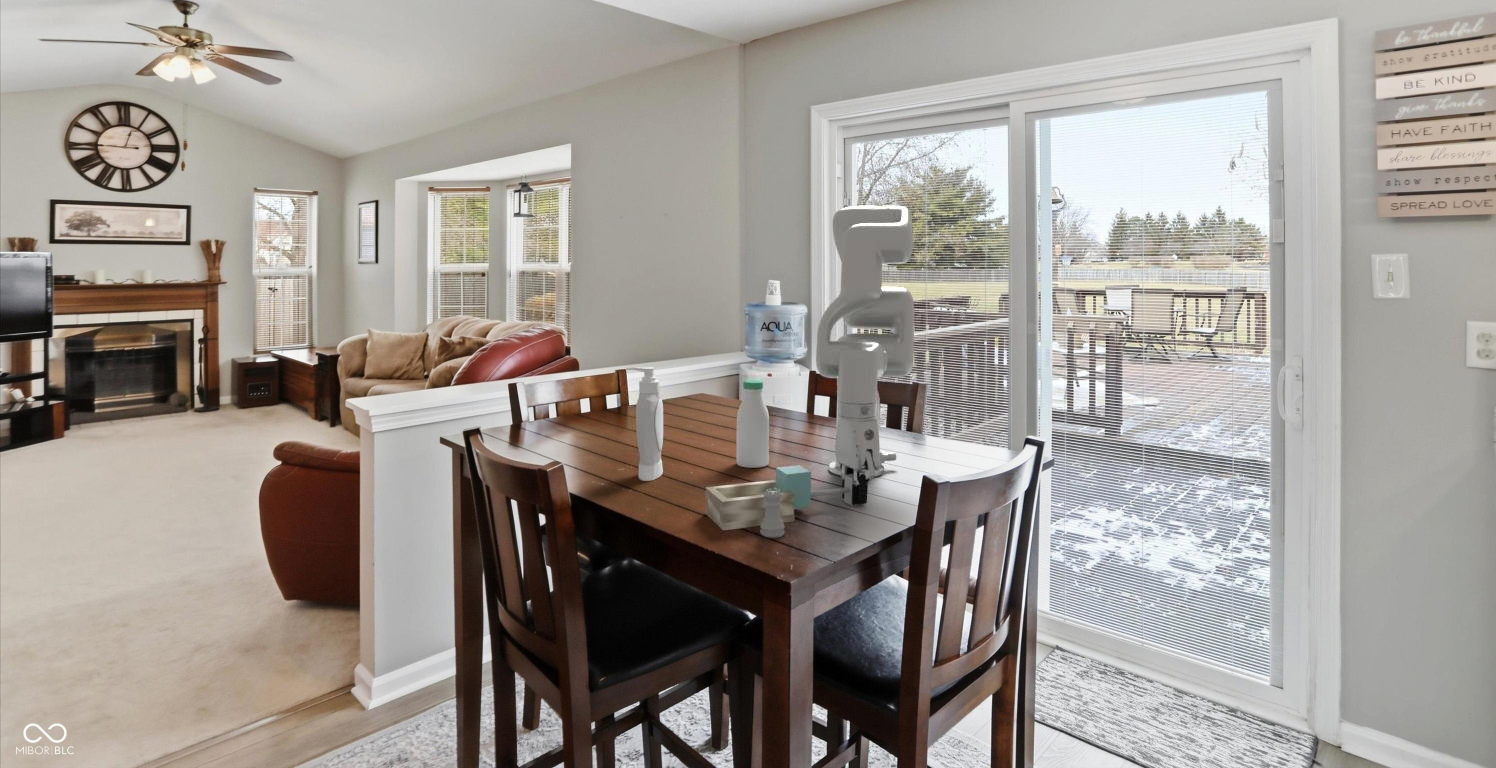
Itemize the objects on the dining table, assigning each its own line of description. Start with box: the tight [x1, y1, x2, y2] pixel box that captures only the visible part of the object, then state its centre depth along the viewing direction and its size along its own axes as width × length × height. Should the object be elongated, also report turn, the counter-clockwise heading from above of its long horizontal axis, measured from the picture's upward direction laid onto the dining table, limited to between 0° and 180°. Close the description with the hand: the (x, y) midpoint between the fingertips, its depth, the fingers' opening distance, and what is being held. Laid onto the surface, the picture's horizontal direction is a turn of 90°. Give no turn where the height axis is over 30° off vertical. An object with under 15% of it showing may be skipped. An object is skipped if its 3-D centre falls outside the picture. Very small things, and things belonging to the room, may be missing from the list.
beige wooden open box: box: [704, 479, 795, 531], centre depth 142 cm, size 14×10×5 cm
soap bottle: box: [625, 366, 664, 482], centre depth 169 cm, size 13×8×24 cm, turn 174°
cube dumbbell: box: [775, 464, 863, 511], centre depth 148 cm, size 18×5×8 cm, turn 112°
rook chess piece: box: [759, 488, 786, 539], centre depth 133 cm, size 4×4×8 cm
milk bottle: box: [735, 379, 770, 469], centre depth 179 cm, size 8×8×20 cm
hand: (854, 500), depth 151 cm, fingers closed on cube dumbbell, 3 cm apart
